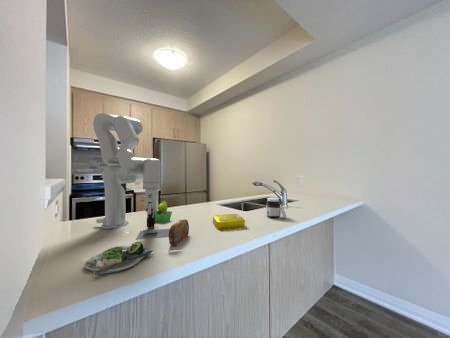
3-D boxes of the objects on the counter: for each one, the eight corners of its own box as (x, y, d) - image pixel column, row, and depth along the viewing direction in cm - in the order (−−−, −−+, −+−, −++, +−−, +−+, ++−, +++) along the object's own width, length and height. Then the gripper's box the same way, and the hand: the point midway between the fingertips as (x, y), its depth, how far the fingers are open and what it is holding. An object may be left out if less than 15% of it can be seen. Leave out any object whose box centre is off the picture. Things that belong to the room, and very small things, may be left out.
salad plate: (121, 283, 54) (121, 266, 54) (65, 277, 57) (65, 261, 57) (157, 252, 73) (157, 240, 73) (114, 249, 76) (114, 237, 76)
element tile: (246, 228, 102) (246, 219, 102) (217, 230, 98) (217, 221, 98) (237, 220, 116) (237, 212, 116) (212, 222, 113) (212, 214, 113)
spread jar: (264, 215, 128) (264, 197, 128) (281, 214, 129) (281, 197, 129) (271, 220, 116) (271, 200, 116) (289, 219, 117) (289, 200, 117)
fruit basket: (147, 222, 112) (147, 202, 112) (157, 218, 120) (157, 199, 120) (165, 224, 109) (165, 203, 108) (174, 219, 117) (174, 200, 117)
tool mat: (135, 241, 83) (135, 239, 83) (140, 231, 95) (140, 230, 95) (174, 237, 87) (174, 236, 87) (175, 229, 99) (175, 228, 99)
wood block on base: (143, 232, 88) (143, 212, 88) (144, 229, 93) (145, 209, 93) (157, 232, 89) (157, 211, 89) (158, 228, 94) (158, 209, 94)
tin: (174, 249, 75) (174, 227, 75) (167, 248, 76) (167, 227, 76) (189, 236, 90) (189, 217, 90) (183, 235, 90) (183, 217, 90)
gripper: (158, 187, 84) (157, 230, 84) (161, 183, 99) (161, 220, 100) (139, 187, 82) (138, 231, 82) (145, 183, 98) (145, 220, 98)
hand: (151, 225), depth 91 cm, fingers closed on wood block on base, 2 cm apart
